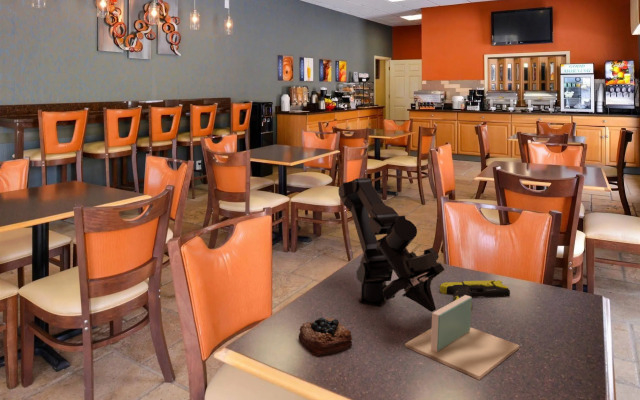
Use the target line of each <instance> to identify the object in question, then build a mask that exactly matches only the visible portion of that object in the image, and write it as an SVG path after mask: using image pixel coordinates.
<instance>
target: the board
mask: <svg viewBox="0 0 640 400" xmlns="http://www.w3.org/2000/svg"><path fill="white" fill-rule="evenodd" d="M431 330H432V327H431V328H429V329H427V330H426V331H424V332H423V333H421V334H419V335H417V336H415V337H414V338H412V339H411V340H409V341H407V342H405V344H404V347H405V348H406V349H407V348H408V349H409V350H410V351H414V352H416V353H418V354H420V355H422V356H425V357H428V358H429V359H432V360H434V361H436V362H438V363H440V364H443V365H445V366H447V367H449V368H452V369H454V370H456V371H458V372H461V373H462V374H465V375H467V376H470V377H472V378H474V379H477V381H478V380H479V381H480V380H481V379H482V378H484V377H485V376H487V374H489V373H490V372H491V371H492V370H494V369H495V368H497V367H498V366H499V365H500V364H501V363H503V362H504V361H505V360H506V359H508V358H509V357H511V356H512V355H513V354H514V353H516V352H517V351H518V350H519V349H520V345H519V344H517V343H514V342H511V341H508V340H506V339H503V338H501V337H499V336H498V337H497V336H496V335H492V334H490V333H487V332H484V331H482V330H479V329H477V328H473V327H471V326H470V331H469V332H467V333H466V334H464V335H463V336H461V337H460V338H458V339H456V340H455V341H453V342H452V343H450V344H449V345H447V346H445V347H444V348H442V349H441V350H439V351H438V352H435V351H433V350H431Z"/></svg>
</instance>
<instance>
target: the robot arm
mask: <svg viewBox="0 0 640 400" xmlns="http://www.w3.org/2000/svg"><path fill="white" fill-rule="evenodd" d="M338 196H339V199H341V202H342V205H343V206H344V207H346V208H347V209H348V210H349V211H350V212H351V217H352V220H353V223H354V226H355V229H356V233H357V237H358V240H359V243H360V247H361V249H362V256H361V259H360V261H359V264H360V265H359V266H358V268H357V269H356V279H357V280H358V281H359V283H361V287H360V288H361V292H360V293H361V298H360V299H359V300H358V301H359V303H362V304H367V305H372V306H378V307H381V306H382V305H383V304H384V303H385V302H387V301H390V300H392V299H395V297H396V295H397V293H399V292H400V291H402V290H403V292H404V293H403V294H402V297H403V298H407V299H409V300H411V301H413V302H415V303H416V304H418V305H420V307H422V308H425V309H426V310H427V311H429V312H431V313H433V312H435V311H437V310H436V309H437V308H436V305H435V302H434V298H433V293H432V289H431V284H432V281H433V280H434V278H436V277H437V276H439V275H440V274H442V272H444V271H445V268H444V267H443V265H442V264H441V262H438V260H439V258H440V257H439V254H438V253H437V251H436V250H435V249H434V248H433V247H431V248H427V249H424V250H423V253H422V254H420V255H417V254H416V253H415V252H413V251H412V252H410V251H409V250H408V249H407V248H408V247H409V245H410V244H411V243H412V241H413V240H414V239H415V238H416V237H417V234H418V230H417V226H415V223H413V222H412V221H411V220H409V219H407V218H406V215H399V213H398V212H397V211H396V210H395V209H394V208H393V207H391V206H388V205H387V204H385V202H384V201H383V200H382V198H381V195H379V193H378V192H377V190H376V188H375V187H374V185H373V181H372V179H371V178H369V177H359V178H355V179H352V180H351V181H345V182H342V183H341V185H339V187H338ZM381 235H384V236H383V237H381V238H379V239H377V236H381ZM393 272H394V273H395V275H396V276H397V278H396V279H393V280H392V276H393ZM387 282H390V283H388V284H387Z"/></svg>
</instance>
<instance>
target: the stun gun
mask: <svg viewBox="0 0 640 400" xmlns="http://www.w3.org/2000/svg"><path fill="white" fill-rule="evenodd" d="M438 288H439V292H440V293H441V295H442V294H443V295H453V296H452V302H453V301H455V300H457V299H459V298H461V297H463V296H464V295H467V296H470V297H471V298H478V297H479V298H483V297H484V298H502V297H503V298H506V297H507V298H509V297H510V295H511V290H510V288H509V287H508V286H507V285H504V284H503V281H502V280H495V279H494V280H493V279H492V280H491V279H489V280H464V281H451V282H450V281H448V282H447V281H445V282H442V283H440V286H439V287H438ZM472 308H473V305H472V306H471V310H472Z"/></svg>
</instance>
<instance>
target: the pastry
mask: <svg viewBox="0 0 640 400" xmlns="http://www.w3.org/2000/svg"><path fill="white" fill-rule="evenodd" d="M298 340H299V341H300V343H301V344H302V345H303V346H304V348H305V349H307V350H308V351H309V353H311V356H316V357H324V356H328V355H329V356H330V355H334V354H336V353H340V352H342V351H343V352H344V351H346V350H348V349H350V348H352V346H353V344H352V343H353V341H352V340H353V336H352V331H351V330H349V329H347V328H346V327H345V326H344V325H343V324H341V323H340V321H339V320H338V319H336V318H334V317H332V318H329V317H321V316H320V317H319V318H317V319H315V320H314V321H309V322H308V321H307V322H306V323H302V325H301V326H300V327H299V333H298Z"/></svg>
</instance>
